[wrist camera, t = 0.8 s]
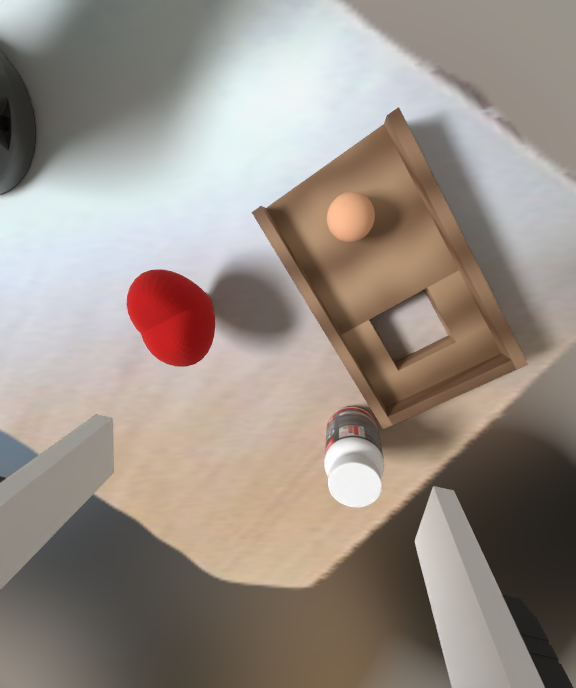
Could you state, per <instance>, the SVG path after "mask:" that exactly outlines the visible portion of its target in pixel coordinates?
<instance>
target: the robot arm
mask: <svg viewBox="0 0 576 688" xmlns="http://www.w3.org/2000/svg"><path fill="white" fill-rule="evenodd" d="M35 137H36V134H35V119H34V113H33V109H32V105H31V101H30V98H29V95H28V92H27V90H26V88H25V85H24V83H23V81H22V79H21V78H20V76H19V74H18V73H17V71H16V69H15V68H14V67H13V65H12V64H11V62H10V61H9V60H8V59H7V58H6V57H5V56H4V54H3V53H2V52H1V51H0V194H3V193H5V192H7V191H9V190H10V189H12V188H13V187H14V186H16V185H17V184H18V183H19V182H20V181H21V179H22V178H23V177H24V175H25V174H26V172H27V170H28V168H29V166H30V163H31V160H32V157H33V153H34V148H35ZM113 473H114V457H113V418H111V417H106V416H101V415H97V414H96V415H94V416H93V417H92V418H90V419H89V420H87V421H86V422H85V423H83V424H82V425H80V426H79V427H78V428H76V429H75V430H73V431H72V432H71V433H69V434H68V435H66V436H65V437H64V438H62V439H61V440H59V441H58V442H57V443H55V444H54V445H52V446H51V447H50V448H48V449H47V450H46V451H44V452H43V453H41V454H40V455H39V456H37V457H36V458H34V459H33V460H32V461H30V462H29V463H28V464H26V465H25V466H23V467H22V468H20V469H19V470H18V471H16V472H15V473H13V474H12V475H11V476H9V477H8V478H4V477H0V589H2V587H3V586H4V585H5V584H6V583H7V582H8V581H9V580H10V579H11V578H12V577H13V576H14V575H15V574H16V573H17V572H18V571H19V570H20V569H21V568H22V567H23V566H24V565H25V564H26V563H27V562H28V561H29V560H30V558H31V557H32V556H33V555H34V554H35V553H36V552H37V551H38V550H39V549H40V548H41V547H42V546H43V545H44V544H45V543H46V542H47V541H48V540H49V539H50V538H51V537H52V536H53V535H54V534H55V533H56V532H57V531H58V530H59V529H60V528H61V527H62V525H63V524H64V523H65V522H66V521H67V520H68V519H69V518H70V517H71V516H72V515H73V514H74V513H75V512H76V511H77V510H78V509H79V508H80V507H81V506H82V505H83V504H84V503H85V502H86V501H87V500H88V499H89V498H90V497H91V496H92V495H93V494H94V492H95V491H96V490H97V489H98V488H99V487H100V486H101V485H102V484H103V483H104V482H105V481H106V480H107V479H108V478H109V477H110V476H111V475H112V474H113ZM415 545H416V549H417V552H418V556H419V560H420V564H421V568H422V572H423V576H424V580H425V584H426V587H427V591H428V595H429V600H430V603H431V607H432V611H433V615H434V619H435V623H436V627H437V631H438V635H439V638H440V643H441V647H442V651H443V654H444V658H445V662H446V666H447V670H448V674H449V678H450V682H451V686H452V688H573V687H572V684H571V682H570V680H569V678H568V676H567V675H566V673H565V671H564V669H563V667H562V665H561V664H559V662H558V658H557V656H556V654H555V652H554V650H553V648H552V646H551V645H549V643H548V642H549V640H548V638H547V637H546V635H545V633H544V631H543V629H542V627H541V625H540V623H539V621H538V620H537V618H536V617H535V616H534V615H533V613H532V612H531V611H530V610H529V609H528V607H527V606H526V605H525V604H524V603H523V602H522V600H521V599H520V598H515V597H511V596H507V595H503V594H501V592H500V590H499V587H498V585H497V583H496V581H495V579H494V577H493V574H492V572H491V570H490V568H489V566H488V564H487V561H486V559H485V557H484V555H483V553H482V551H481V549H480V547H479V544H478V542H477V540H476V538H475V536H474V533H473V531H472V529H471V527H470V525H469V523H468V520H467V518H466V516H465V514H464V512H463V510H462V507H461V506H460V503H459V501H458V499H457V497H456V495H455V492H454V491H453V490H448V489H444V488H439V487H435V486H433V488H432V491H431V494H430V497H429V500H428V503H427V506H426V509H425V512H424V515H423V518H422V521H421V524H420V527H419V530H418V533H417V536H416V539H415Z"/></svg>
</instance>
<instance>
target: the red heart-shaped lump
mask: <svg viewBox="0 0 576 688" xmlns="http://www.w3.org/2000/svg"><path fill="white" fill-rule="evenodd" d="M127 309H128V314H129V316H130V319H131V321H132V322H133V324H134V326H135V327H136V329H137V330H138V331H139V332H140V333H141V335H142V338H143V341H144V343H145V344H146V346H147V348H148V349H149V351H150V352H151V353H152V354H153V355H154V356H155V357H156V358H157V359H159V360H160V361H162V362H164V363H166V364H169V365H173V366H190V365H193V364H196V363H197V362H199V361H200V360H202V359H203V358H204V356H205V355H206V354H207V353H208V351H209V349H210V347H211V345H212V342H213V338H214V332H215V315H214V308H213V305H212V301H211V299H210V298H209V297H208V295H207V294H206V293H205V292H204V291H203V290H202V289H201V288H200V287H199V286H197V285H196V284H195V283H193V282H192V281H191V280H189V279H187V278H186V277H184V276H182V275H180V274H177V273H174V272H172V271H167V270H150V271H147V272H144V273H142V274H141V275H140V276H138V277H137V278H136V279H135V280H134V282H133V283H132V285H131V286H130V289H129V292H128V295H127Z"/></svg>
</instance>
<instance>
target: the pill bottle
mask: <svg viewBox="0 0 576 688" xmlns="http://www.w3.org/2000/svg"><path fill="white" fill-rule="evenodd" d="M324 464H325V470H326V473H327V475H328V486H329V490H330V492H331V494H332V496H333V497H334V498H335V499H336V500H337V501H338V502H340V503H342V504H343V505H346V506H349V507H364V506H367V505H369V504H371V503H373V502H374V501H375V500H376V499H377V498H378V497H379V495H380V493H381V490H382V481H381V477H382V474H383V471H384V459H383V454H382V449H381V444H380V438H379V433H378V428H377V424H376V422H375V420H374V418H373V417H372V416H371V415H370V414H369V413H368V412H367V411H365V410H363V409H361V408H357V407H345V408H342V409H339V410H338V411H336V412H335V413H334V414H333V415H332V416H331V417H330V419H329V421H328V424H327V430H326V445H325V458H324Z"/></svg>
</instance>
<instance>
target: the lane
mask: <svg viewBox="0 0 576 688" xmlns="http://www.w3.org/2000/svg"><path fill="white" fill-rule="evenodd" d="M347 192H358V193H361V194H363V195H365V196H366V197H367V198H368V199H369V200H370V201H371V203H372V205H373V207H374V211H375V220H374V224H373V226H372V228H371V230H370V231H369V233H368V234H367V235H366V236H365V237H363V238H362V239H360V240H358V241H354V242H344V241H341V240H339V239H337V238H336V237H335V236H334V235H333V234H332V233H331V232H330V230H329V227H328V224H327V213H328V209H329V207H330V205H331V203H332V202H333V201H334V200H335V199H336V198H337V197H338V196H340V195H341V194H344V193H347ZM252 214H253V215H254V217H255V219H256V220H257V222H258V224H259V225H260V227H261V229H262V230H263V232H264V233H265V235H266V237H267V238H268V240H269V242H270V243H271V245H272V247H273V248H274V250H275V252H276V253H277V255H278V257H279V258H280V260H281V261H282V263H283V265H284V266H285V268H286V270H287V271H288V273H289V275H290V276H291V278H292V280H293V281H294V283H295V285H296V286H297V288H298V290H299V291H300V293H301V294H302V296H303V298H304V299H305V301H306V303H307V304H308V306H309V308H310V309H311V311H312V313H313V314H314V316H315V318H316V319H317V321H318V322H319V324H320V326H321V327H322V329H323V331H324V332H325V334H326V336H327V337H328V339H329V341H330V342H331V344H332V346H333V347H334V349H335V351H336V352H337V354H338V355H339V357H340V359H341V360H342V362H343V364H344V365H345V367H346V369H347V370H348V372H349V374H350V375H351V377H352V379H353V380H354V382H355V383H356V385H357V387H358V388H359V390H360V392H361V393H362V395H363V397H364V398H365V400H366V402H367V403H368V405H369V407H370V408H371V410H372V412H373V413H374V415H375V416H376V418H377V420H378V421H379V423H380V425H381V426H382V428H383V429H385V428H388V427H390V426H392V425H394V424H396V423H399V422H401V421H403V420H405V419H408V418H410V417H412V416H414V415H416V414H419V413H421V412H423V411H425V410H428V409H430V408H432V407H434V406H436V405H439V404H441V403H443V402H445V401H448V400H450V399H452V398H454V397H456V396H459V395H461V394H463V393H465V392H468V391H470V390H472V389H474V388H476V387H479V386H481V385H483V384H485V383H488V382H490V381H492V380H494V379H497V378H499V377H501V376H503V375H505V374H508V373H510V372H512V371H514V370H517V369H519V368H521V367H523V366H525V365H528V363H527V361H526V359H525V357H524V355H523V353H522V351H521V349H520V347H519V345H518V343H517V341H516V339H515V337H514V335H513V333H512V331H511V329H510V327H509V325H508V323H507V321H506V320H505V318H504V316H503V314H502V312H501V310H500V308H499V306H498V304H497V302H496V300H495V298H494V296H493V294H492V292H491V290H490V288H489V286H488V284H487V282H486V280H485V278H484V276H483V274H482V272H481V270H480V268H479V266H478V264H477V262H476V260H475V258H474V256H473V254H472V252H471V250H470V248H469V246H468V244H467V242H466V240H465V238H464V236H463V234H462V232H461V230H460V228H459V226H458V224H457V222H456V220H455V218H454V216H453V214H452V212H451V210H450V208H449V206H448V204H447V202H446V200H445V198H444V196H443V194H442V192H441V190H440V188H439V186H438V184H437V182H436V180H435V178H434V176H433V174H432V172H431V170H430V168H429V166H428V164H427V162H426V160H425V158H424V156H423V154H422V152H421V150H420V148H419V146H418V144H417V142H416V140H415V138H414V136H413V134H412V132H411V130H410V128H409V126H408V125H407V123H406V121H405V119H404V117H403V115H402V113H401V111H400V109H399V107H398V108H397V109H396V110H394V111H393V112H391V113H390V114H389V115H387V117H386V120H385V123H384V125H382V126H381V127H379V128H378V129H377V130H375V131H374V132H372V133H371V134H370V135H368V136H367V137H365V138H364V139H363V140H361V141H360V142H358V143H357V144H355V145H354V146H353V147H351V148H350V149H348V150H347V151H346V152H344V153H343V154H341V155H340V156H339V157H337V158H336V159H334V160H333V161H332V162H330V163H329V164H327V165H326V166H325V167H323V168H322V169H320V170H319V171H318V172H316V173H315V174H313V175H312V176H310V177H309V178H308V179H306V180H305V181H303V182H302V183H301V184H299V185H298V186H296V187H295V188H294V189H292V190H291V191H289V192H288V193H287V194H285V195H284V196H282V197H281V198H280V199H278V200H277V201H275V202H274V203H273V204H271V205H270V206H268V207H267V208H264V207H262V206H260V207H259V208H257V209H256V210H255V211H253V212H252ZM422 290H424V291H425V292H426V294H427V296H428V298H429V300H430V302H431V304H432V305H433V307H434V309H435V311H436V313H437V315H438V317H439V318H440V320H441V322H442V324H443V326H444V328H445V330H446V331H447V333H448V335H449V336H447V337H445V338H443V339H441V340H439V341H437V342H435V343H433V344H431V345H429V346H427V347H425V348H423V349H421V350H419V351H417V352H415V353H413V354H411V355H409V356H407V357H405V358H403V359H401V360H399V361H397V362H395V363H394V361H393V359H392V357H391V356H390V354H389V352H388V350H387V349H386V347H385V345H384V344H383V342H382V340H381V338H380V337H379V335H378V333H377V331H376V330H375V328H374V326H373V324H372V323H371V321H370V319H371V318H373V317H375V316H377V315H379V314H380V313H382V312H384V311H386V310H388V309H389V308H391V307H393V306H395V305H397V304H399V303H400V302H402V301H404V300H406V299H408V298H409V297H411V296H413V295H415V294H417V293H419V292H420V291H422Z"/></svg>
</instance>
